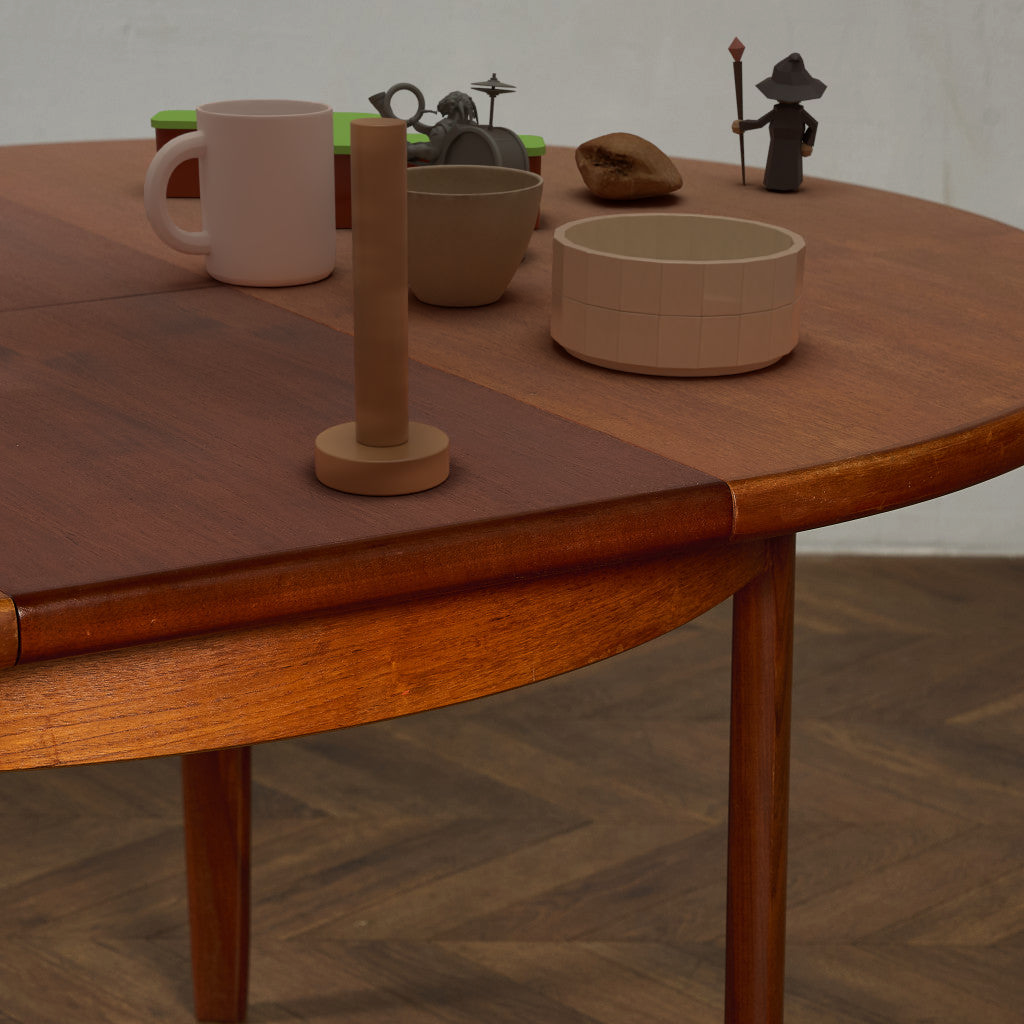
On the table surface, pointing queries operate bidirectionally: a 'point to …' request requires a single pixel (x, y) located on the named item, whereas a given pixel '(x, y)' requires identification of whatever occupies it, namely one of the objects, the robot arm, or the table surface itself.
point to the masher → (380, 333)
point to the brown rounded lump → (626, 167)
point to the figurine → (459, 131)
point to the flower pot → (468, 230)
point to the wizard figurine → (781, 118)
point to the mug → (255, 191)
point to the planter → (187, 172)
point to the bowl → (676, 293)
